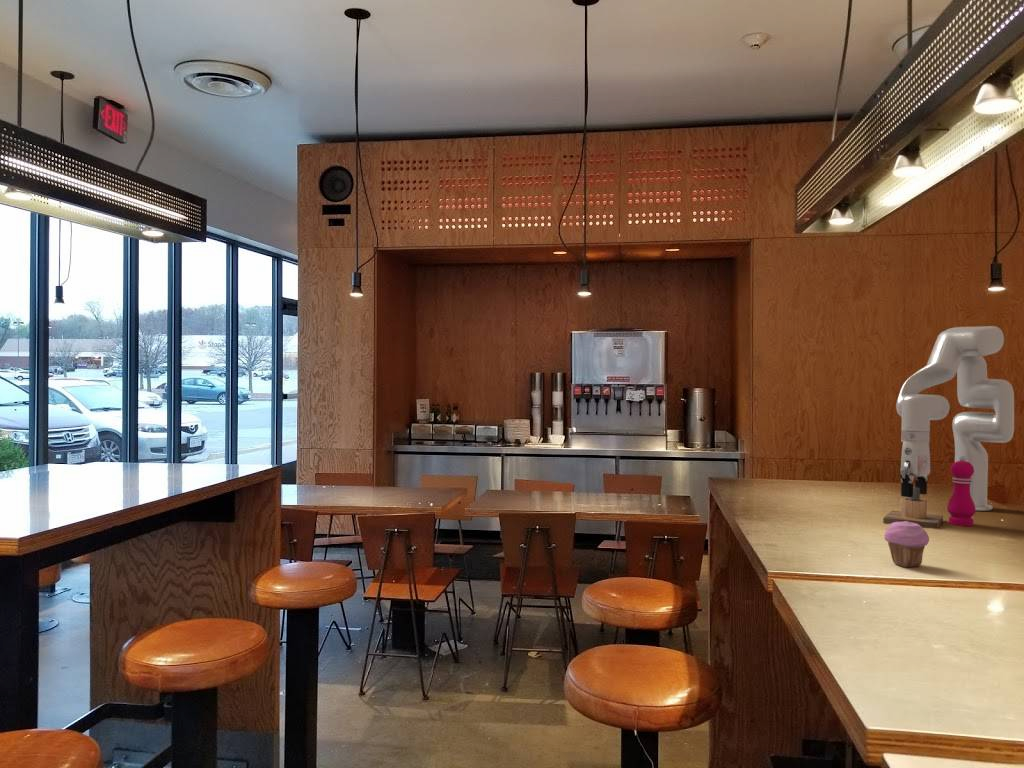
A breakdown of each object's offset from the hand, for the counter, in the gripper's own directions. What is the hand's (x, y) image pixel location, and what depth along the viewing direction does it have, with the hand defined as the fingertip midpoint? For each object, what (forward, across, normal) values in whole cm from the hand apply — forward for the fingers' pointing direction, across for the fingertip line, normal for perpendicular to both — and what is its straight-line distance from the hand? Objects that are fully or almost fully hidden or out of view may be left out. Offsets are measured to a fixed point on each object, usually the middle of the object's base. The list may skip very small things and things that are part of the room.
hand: (914, 495), depth 240 cm
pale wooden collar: (+6, 0, 0) cm, 6 cm away
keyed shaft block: (+8, 0, 0) cm, 8 cm away
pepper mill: (+8, +7, -10) cm, 15 cm away
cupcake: (+8, -60, -22) cm, 65 cm away
